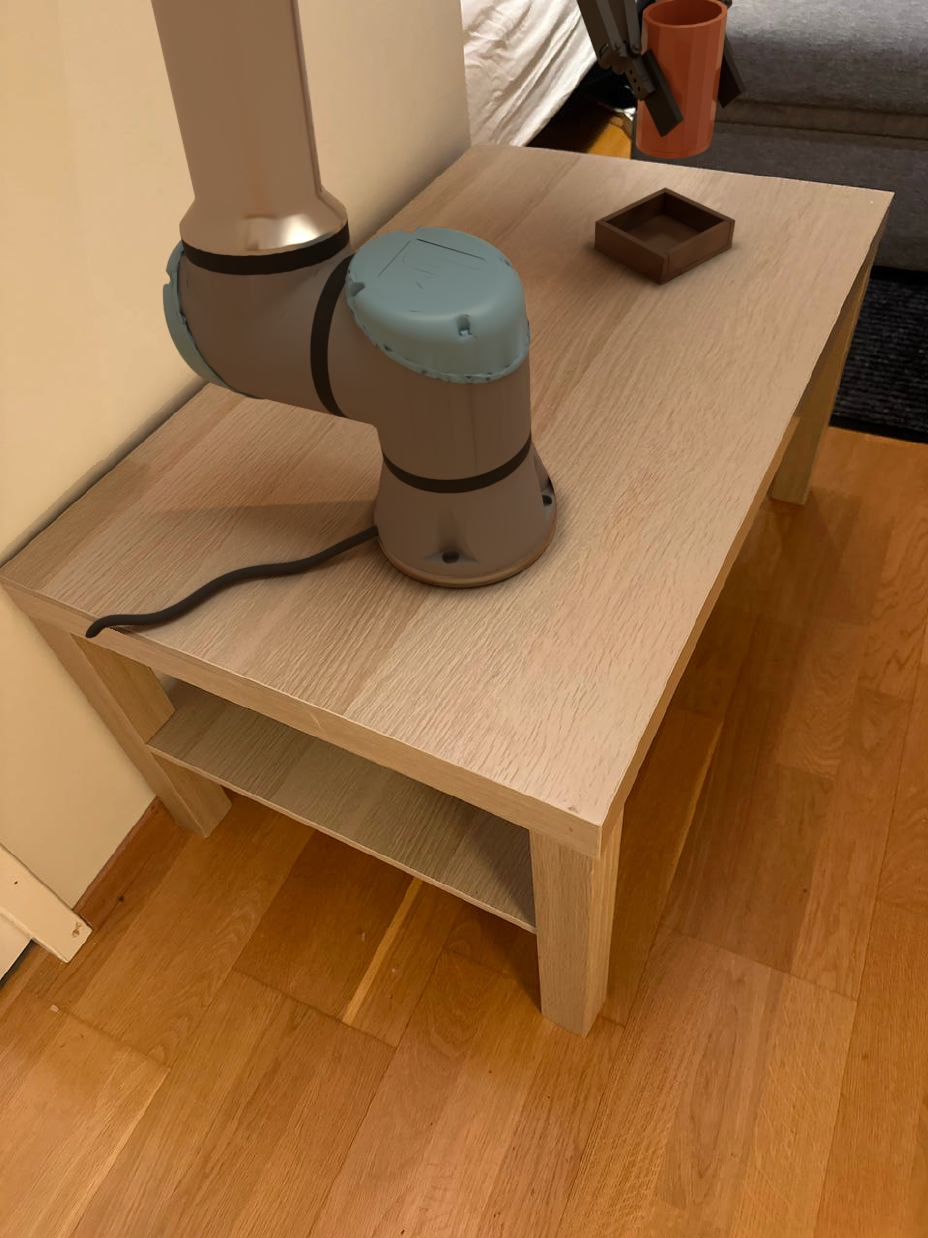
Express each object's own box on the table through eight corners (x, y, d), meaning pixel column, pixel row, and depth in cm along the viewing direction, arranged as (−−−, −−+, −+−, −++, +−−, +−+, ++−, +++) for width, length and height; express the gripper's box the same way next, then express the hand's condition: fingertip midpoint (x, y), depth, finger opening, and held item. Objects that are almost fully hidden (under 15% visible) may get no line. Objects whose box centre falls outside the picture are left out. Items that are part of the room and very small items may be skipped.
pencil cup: (672, 166, 84) (684, 33, 75) (620, 142, 88) (626, 13, 79) (727, 139, 86) (745, 8, 77) (673, 117, 90) (685, -10, 81)
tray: (661, 284, 95) (663, 257, 92) (594, 247, 101) (594, 221, 98) (731, 247, 98) (735, 219, 96) (663, 213, 104) (665, 186, 101)
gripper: (651, -131, 85) (754, 100, 89) (482, -74, 79) (601, 172, 83) (698, -200, 78) (807, 54, 82) (517, -143, 72) (644, 129, 76)
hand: (703, 113), depth 82 cm, fingers closed on pencil cup, 7 cm apart
